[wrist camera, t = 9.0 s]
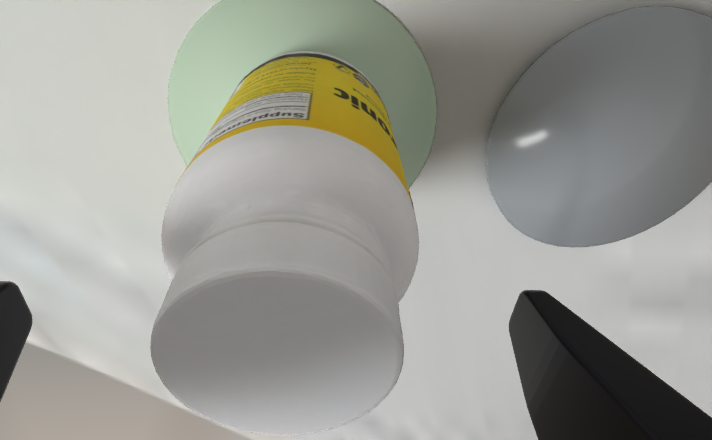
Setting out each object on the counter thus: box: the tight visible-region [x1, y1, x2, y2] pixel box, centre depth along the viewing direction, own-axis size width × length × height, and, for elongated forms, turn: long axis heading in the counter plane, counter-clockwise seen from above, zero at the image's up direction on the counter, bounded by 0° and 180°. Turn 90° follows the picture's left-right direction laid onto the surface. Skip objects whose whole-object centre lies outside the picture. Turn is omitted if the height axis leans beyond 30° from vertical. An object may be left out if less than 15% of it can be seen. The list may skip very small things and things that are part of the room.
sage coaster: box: [168, 0, 437, 189], centre depth 15 cm, size 9×9×1 cm
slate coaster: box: [486, 6, 712, 247], centre depth 16 cm, size 9×9×1 cm
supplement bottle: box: [150, 51, 419, 435], centre depth 11 cm, size 5×5×10 cm
